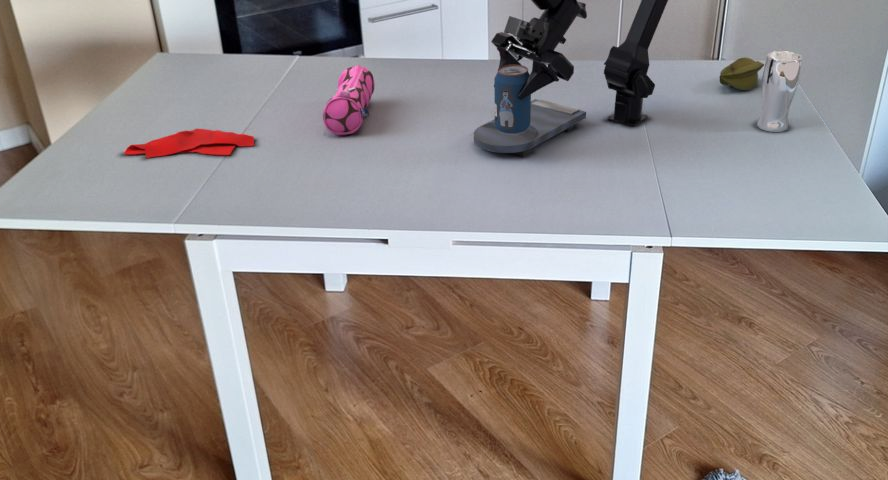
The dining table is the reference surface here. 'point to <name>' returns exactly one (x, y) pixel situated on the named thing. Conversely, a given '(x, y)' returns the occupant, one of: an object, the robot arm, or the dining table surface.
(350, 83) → the pencil case
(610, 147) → the dining table surface
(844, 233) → the dining table surface
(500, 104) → the soda can
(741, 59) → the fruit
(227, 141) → the cloth
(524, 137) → the grey kitchen scale
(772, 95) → the beer glass
